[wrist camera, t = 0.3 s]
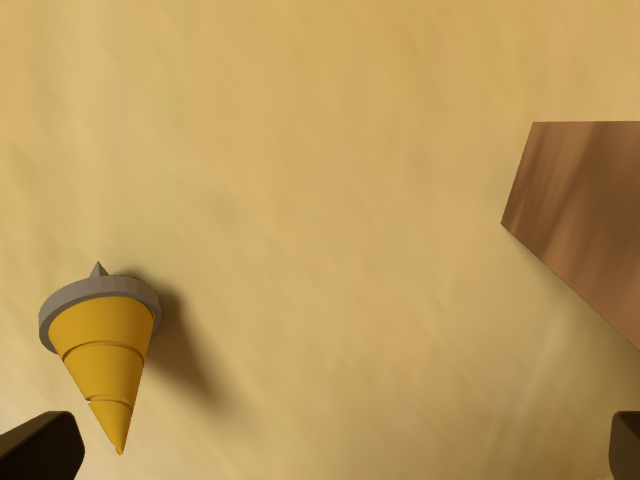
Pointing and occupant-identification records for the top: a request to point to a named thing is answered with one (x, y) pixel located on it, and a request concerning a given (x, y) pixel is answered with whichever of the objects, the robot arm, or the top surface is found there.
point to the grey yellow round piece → (103, 342)
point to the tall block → (584, 212)
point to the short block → (605, 478)
